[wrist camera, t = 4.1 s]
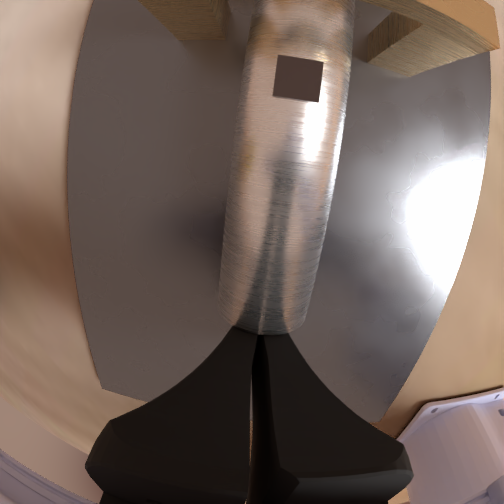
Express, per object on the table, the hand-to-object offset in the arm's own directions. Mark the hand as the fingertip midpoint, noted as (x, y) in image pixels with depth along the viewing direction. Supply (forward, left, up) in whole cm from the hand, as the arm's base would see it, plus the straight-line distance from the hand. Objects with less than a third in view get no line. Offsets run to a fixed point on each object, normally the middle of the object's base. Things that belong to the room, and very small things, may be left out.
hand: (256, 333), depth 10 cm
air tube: (0, -8, -1) cm, 8 cm away
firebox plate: (0, -6, -1) cm, 6 cm away
